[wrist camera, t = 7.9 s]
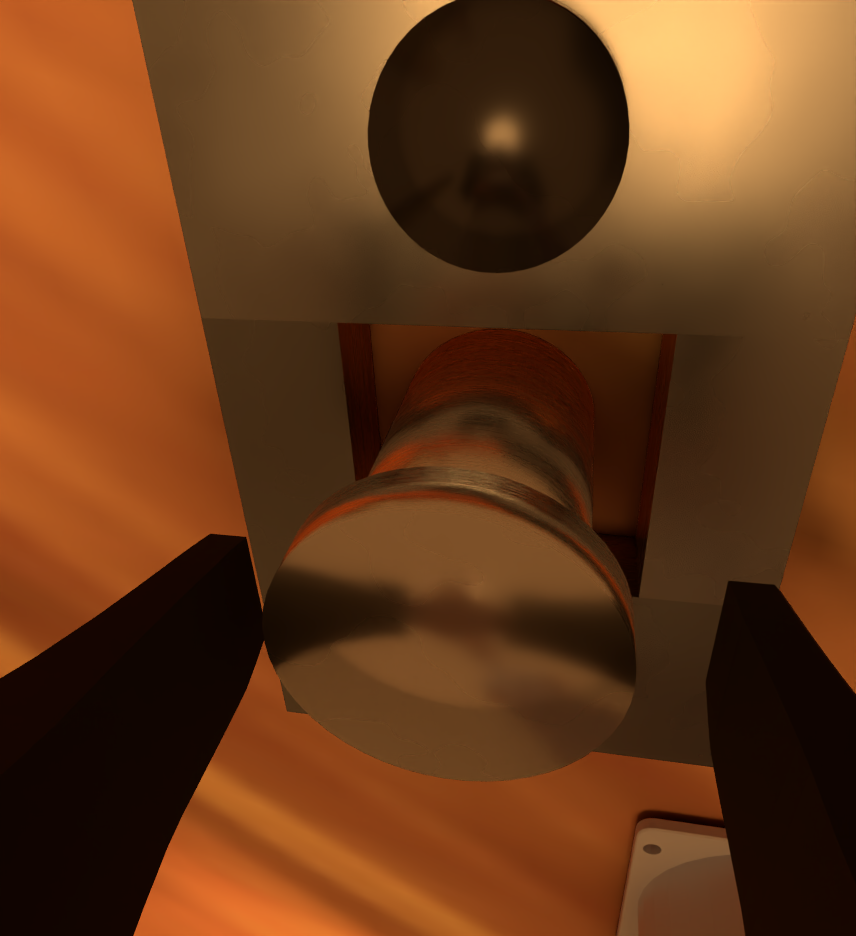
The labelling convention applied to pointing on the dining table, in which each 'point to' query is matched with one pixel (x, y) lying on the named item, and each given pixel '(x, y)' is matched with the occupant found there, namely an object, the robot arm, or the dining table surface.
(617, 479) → the dining table surface
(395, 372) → the dining table surface
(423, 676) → the pin
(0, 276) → the dining table surface
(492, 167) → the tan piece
